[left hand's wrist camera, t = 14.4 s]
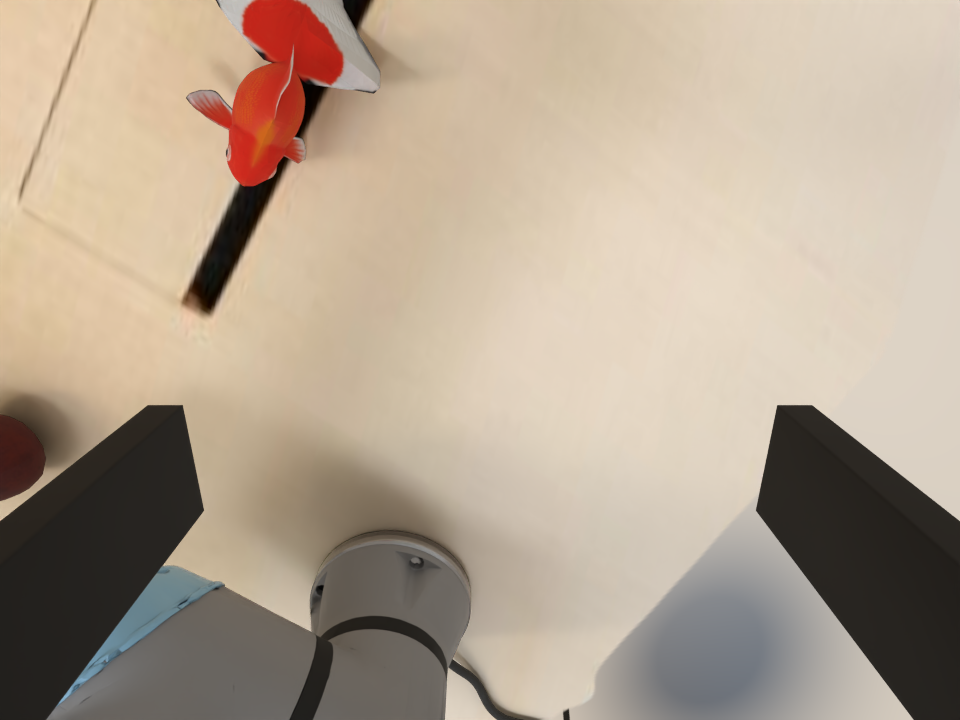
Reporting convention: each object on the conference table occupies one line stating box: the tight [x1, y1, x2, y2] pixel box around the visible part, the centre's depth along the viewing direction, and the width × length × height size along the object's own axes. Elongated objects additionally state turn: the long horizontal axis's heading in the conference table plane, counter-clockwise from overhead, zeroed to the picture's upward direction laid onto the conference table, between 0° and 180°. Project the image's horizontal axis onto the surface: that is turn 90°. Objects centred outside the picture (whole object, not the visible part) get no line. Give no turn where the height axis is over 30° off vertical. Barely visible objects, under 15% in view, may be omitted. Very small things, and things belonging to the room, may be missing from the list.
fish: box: [186, 0, 380, 186], centre depth 36 cm, size 11×16×10 cm
